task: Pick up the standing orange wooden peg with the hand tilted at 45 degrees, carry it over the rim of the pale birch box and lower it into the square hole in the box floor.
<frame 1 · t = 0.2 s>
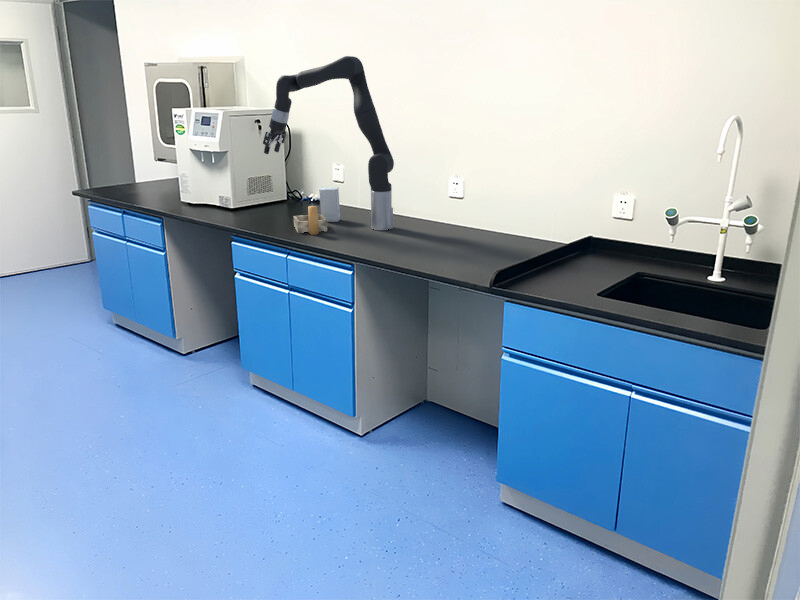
hand: (271, 152, 295), 31 cm above the countertop, tool tilted 20°, fingers open, 8 cm apart
box: (310, 229, 283), on the countertop
peg: (314, 234, 274), on the countertop
skincare box: (330, 221, 300), on the countertop
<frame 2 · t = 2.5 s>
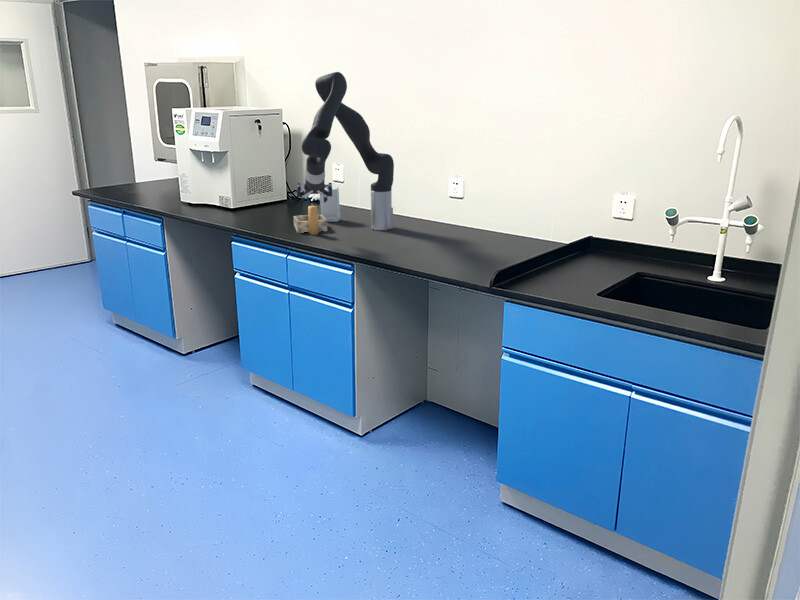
hand: (314, 201, 259), 16 cm above the countertop, tool tilted 45°, fingers open, 8 cm apart
nothing on the countertop moved.
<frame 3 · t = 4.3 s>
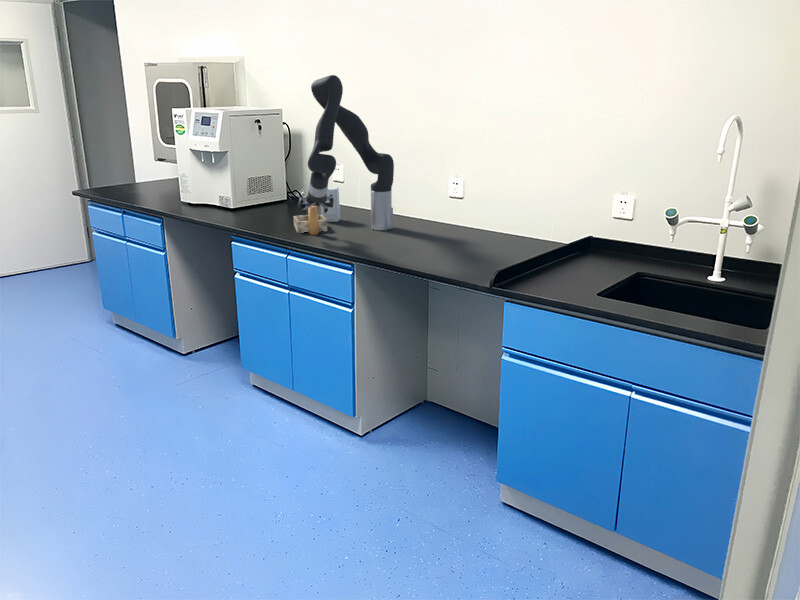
hand: (314, 212, 267), 10 cm above the countertop, tool tilted 45°, fingers open, 8 cm apart
nothing on the countertop moved.
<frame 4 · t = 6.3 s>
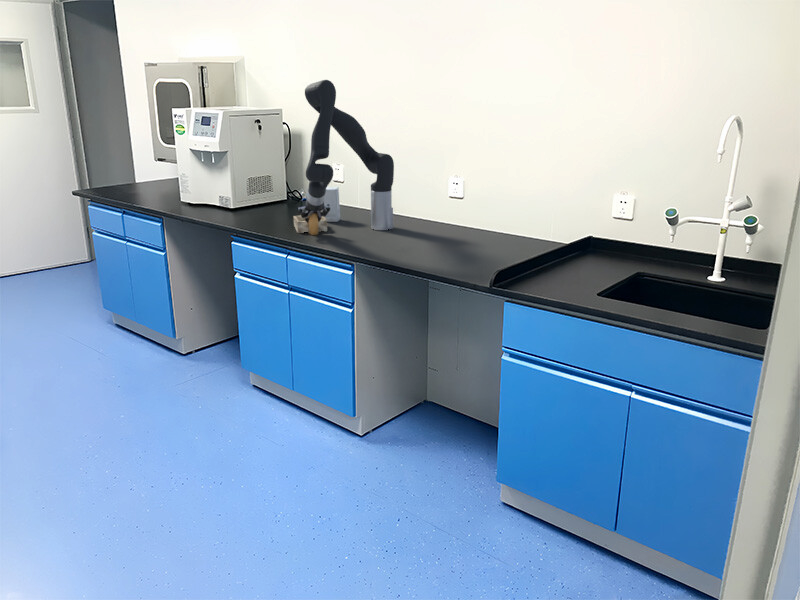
hand: (312, 220, 274), 6 cm above the countertop, tool tilted 45°, fingers closed on peg, 4 cm apart
peg: (313, 234, 274), on the countertop, touching gripper
everything else where it was.
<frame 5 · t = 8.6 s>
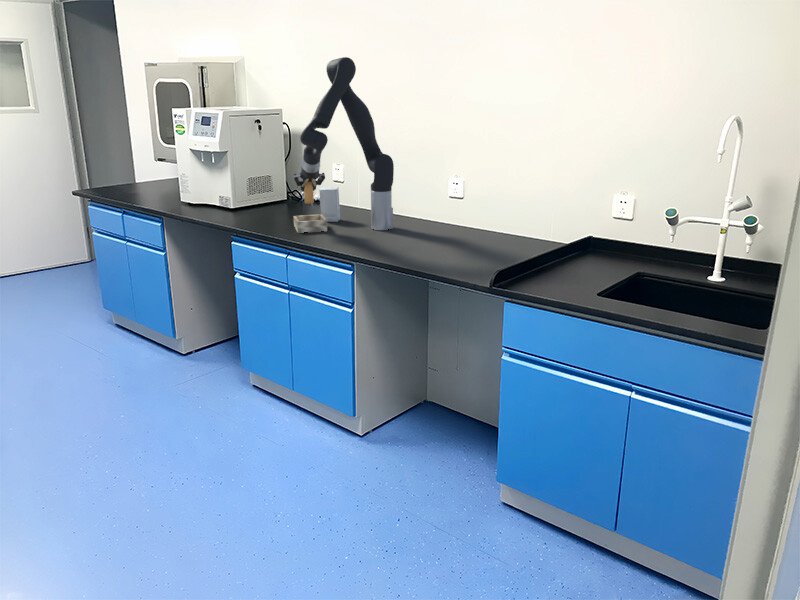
hand: (307, 189, 279), 17 cm above the countertop, tool tilted 45°, fingers closed on peg, 4 cm apart
peg: (309, 202, 279), point 12 cm above the countertop, touching gripper
everything else where it was.
when the fingers open (7 cm above the countertop, at t = 11.2 s): peg drops 2 cm, resting in box.
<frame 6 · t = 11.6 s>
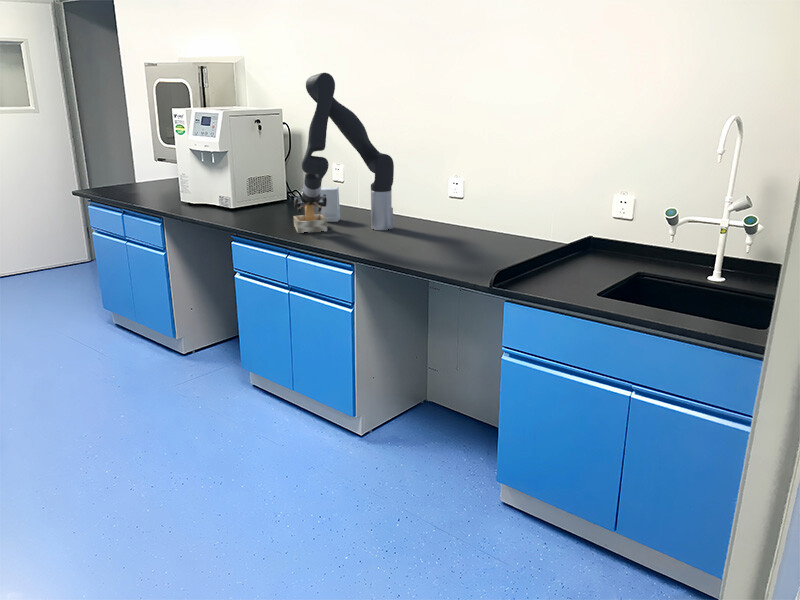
hand: (309, 211, 282), 8 cm above the countertop, tool tilted 45°, fingers open, 8 cm apart
peg: (310, 229, 283), resting in box
everything else where it was.
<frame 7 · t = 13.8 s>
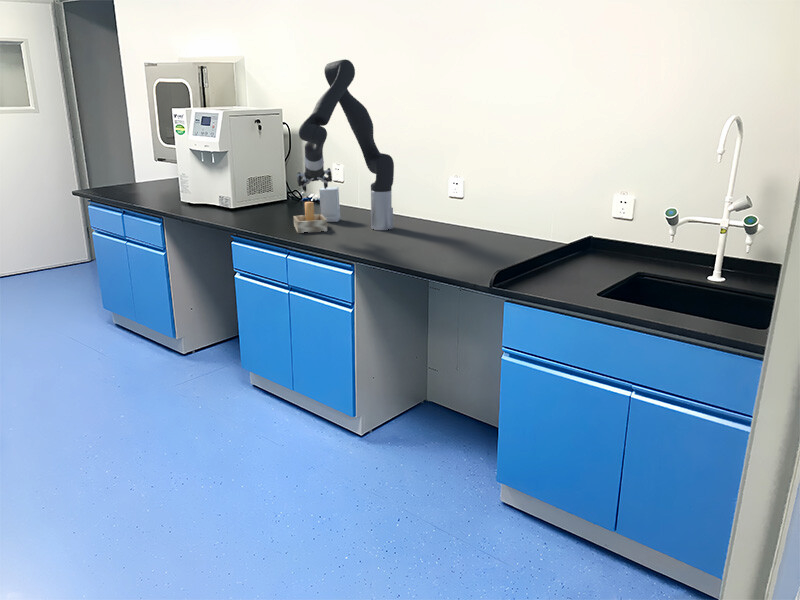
hand: (315, 188, 268), 20 cm above the countertop, tool tilted 40°, fingers open, 8 cm apart
nothing on the countertop moved.
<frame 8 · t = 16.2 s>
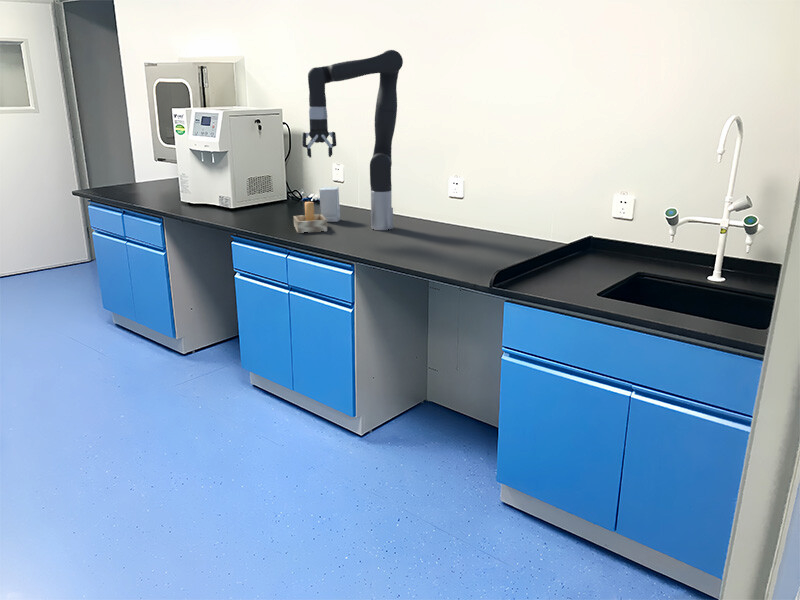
hand: (319, 157, 270), 32 cm above the countertop, tool pointing down, fingers open, 8 cm apart
nothing on the countertop moved.
at the end: peg 0.1 cm off-centre on the box, point 0.0 cm above the box's base; peg tilted 0°; the gripper is holding nothing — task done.
